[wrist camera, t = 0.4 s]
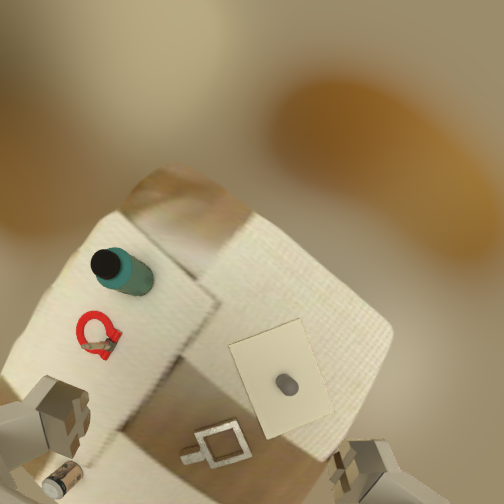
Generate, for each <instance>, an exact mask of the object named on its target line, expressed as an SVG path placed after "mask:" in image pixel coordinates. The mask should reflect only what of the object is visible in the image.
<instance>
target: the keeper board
mask: <svg viewBox="0 0 504 504" xmlns="http://www.w3.org/2000/svg"><path fill="white" fill-rule="evenodd" d="M229 348H230V351H231V353H232V356H233V358H234V361H235V363H236V366H237V368H238V371H239V373H240V376H241V378H242V381H243V383H244V386H245V388H246V391H247V393H248V396H249V398H250V401H251V403H252V405H253V408H254V410H255V413H256V415H257V417H258V420H259V422H260V425H261V427H262V429H263V432H264V434H265V436H266V439H267V440H268V439H271V438H273V437H276V436H279V435H281V434H284V433H286V432H289V431H291V430H294V429H296V428H299V427H301V426H303V425H306V424H308V423H310V422H313V421H315V420H317V419H320V418H322V417H324V416H326V415H328V414H331V413H333V412H335V411H334V408H333V406H332V403H331V400H330V397H329V395H328V392H327V389H326V386H325V384H324V381H323V378H322V376H321V373H320V370H319V368H318V365H317V362H316V360H315V357H314V354H313V352H312V349H311V346H310V344H309V341H308V338H307V336H306V333H305V330H304V328H303V325H302V323H301V320H300V318H299V319H296V320H293V321H291V322H288V323H286V324H283V325H281V326H278V327H276V328H273V329H271V330H268V331H265V332H263V333H260V334H258V335H255V336H252V337H250V338H247V339H244V340H241V341H239V342H236V343H233V344H230V345H229Z"/></svg>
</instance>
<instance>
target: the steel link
mask: <svg viewBox="0 0 504 504" xmlns="http://www.w3.org/2000/svg"><path fill="white" fill-rule="evenodd" d="M230 428H233V430H234V432H235V434H236V437H237V439H238V441H239V443H240V445H241V448H242V451H239V452H236V453H232V454H229V455H226V456H223V457H219V458H216V459H215V458H214V456H213V454H212V452H211V449H210V447H209V445H208V443H207V441H206V439H205V436H208V435H212V434H215V433H218V432H221V431H224V430H227V429H230ZM194 435H195V437H196V439H197V441H198V443H199V445H196V446H193V447H189V448H185V449H182V452H181V455H180V458H181V460H182V462H183V464H184V465H188V464H192V463H196V462H199V461H203V460H204V458H206V460H207V462H208V464H209V466H210V468H211V469H214V468H217V467H221V466H224V465H228V464H231V463H234V462H237V461H240V460H244V459H247V458H250V457H253V456H252V452H251V450H250V448H249V446H248V443H247V441H246V439H245V437H244V434H243V432H242V430H241V428H240V425H239V423H238V421H237V418H233V419H230V420H227V421H224V422H220V423H217V424H214V425H211V426H208V427H205V428H201V429H198V430H195V432H194Z"/></svg>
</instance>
